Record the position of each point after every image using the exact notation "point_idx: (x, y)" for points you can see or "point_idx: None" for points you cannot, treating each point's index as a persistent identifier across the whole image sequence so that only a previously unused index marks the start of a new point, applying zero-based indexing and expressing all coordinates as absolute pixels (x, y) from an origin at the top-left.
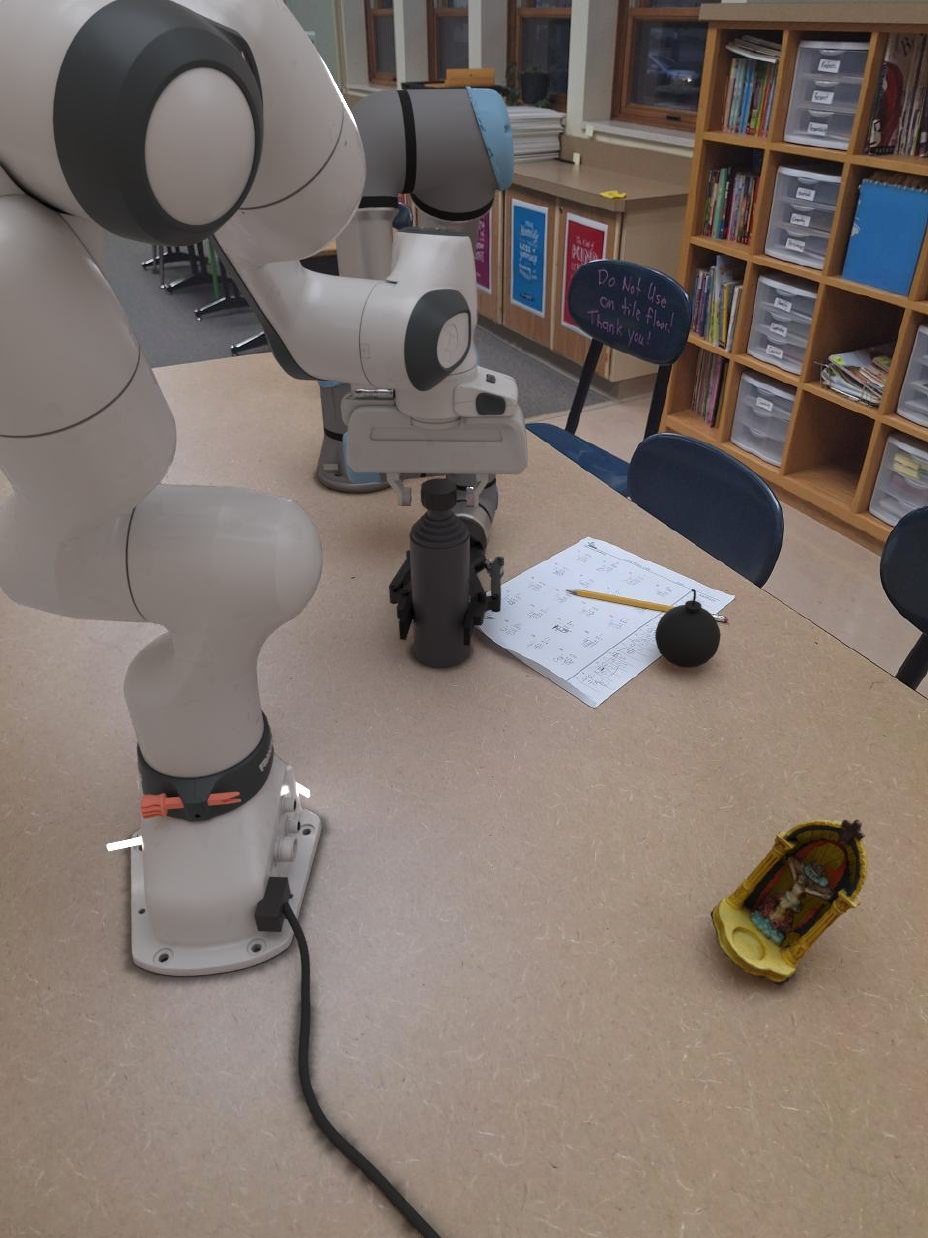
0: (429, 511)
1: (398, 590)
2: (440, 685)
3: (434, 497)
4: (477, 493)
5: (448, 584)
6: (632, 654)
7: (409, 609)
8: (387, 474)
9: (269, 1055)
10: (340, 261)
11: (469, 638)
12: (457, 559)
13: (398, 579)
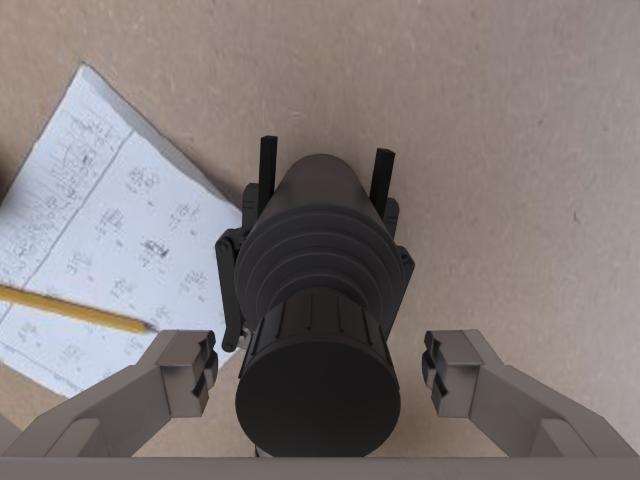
0: None
1: None
2: (317, 112)
3: (333, 331)
4: (136, 367)
5: (297, 183)
6: (47, 194)
7: (376, 194)
8: (628, 451)
9: None
10: None
11: (265, 136)
12: (268, 210)
13: None
